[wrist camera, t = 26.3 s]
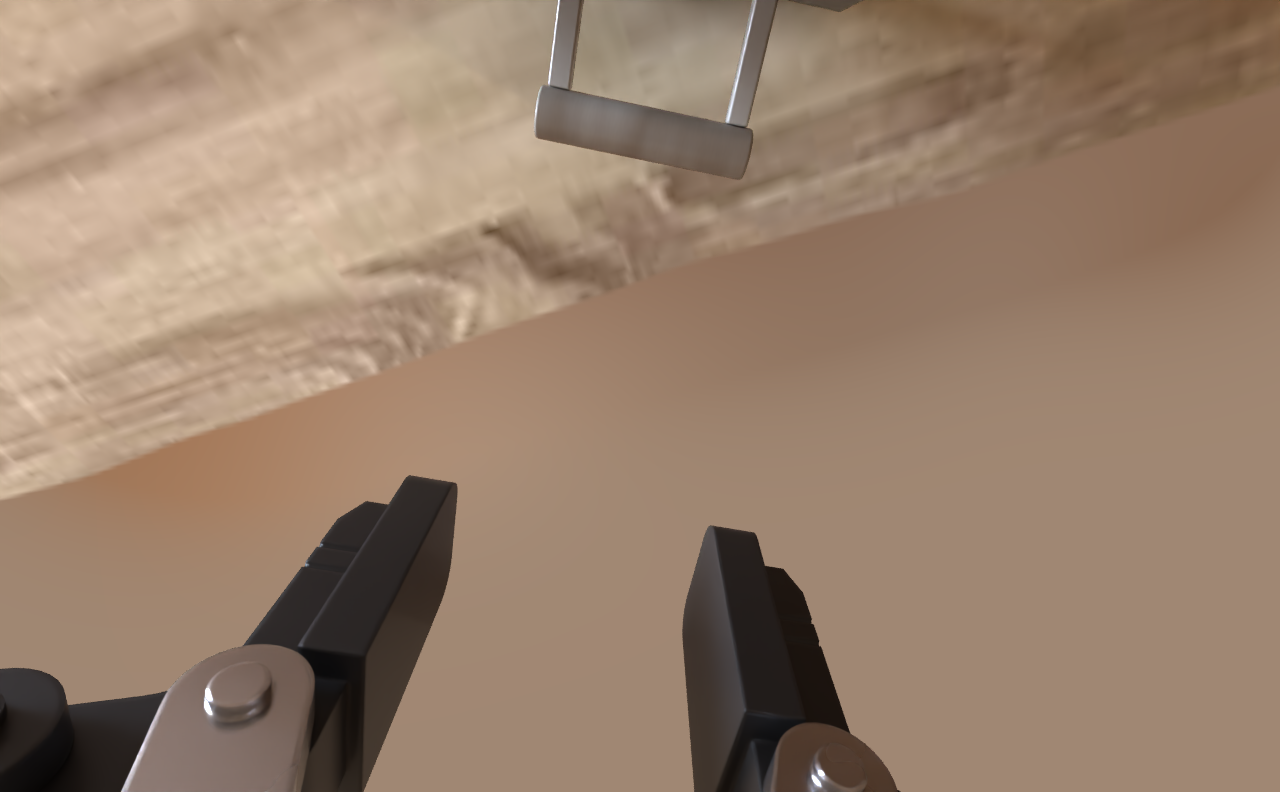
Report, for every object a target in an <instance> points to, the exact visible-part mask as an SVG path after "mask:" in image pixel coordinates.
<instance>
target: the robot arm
mask: <svg viewBox="0 0 1280 792" xmlns="http://www.w3.org/2000/svg"><path fill="white" fill-rule="evenodd" d="M456 503H457V484H456V483H453V482H447V481H441V480H434V479H429V478H422V477H417V476H411V475H409V476H408V477H406V479H405V480H404V481H403V483H402V485H401V486H400V488H399V489H398V491H397V492H396V494H395V495H394V497H393V499H392V500H391V502H390V504H389V505H387V504H380V503H374V502H368V501H367V502H364V503H363V504H361V505H359V506H358V507H357V508H355V509H353V510H351V511H350V512H348V513H346V514H345V515H343V516H342V517H340V518H338V519H337V521H336V522H335V523H334V525H333V526H332V527H331V529H330V530H329V531H328V533H327V534H326V535H325V537H324V538H323V539H322V541H321V543H320V546H319V547H317V548H316V549H315V550H314V552H313V553H312V554H311V555H310V557H309V558H308V560H307V561H306V564H305V567H301V569H300V570H299V572H298V573H297V574H296V576H295V577H294V578H293V580H292V581H291V582H290V584H289V585H288V586H287V588H286V589H285V590H284V592H283V593H282V594H281V596H280V597H279V598H278V600H277V601H276V603H275V604H274V605H273V606H272V608H271V609H270V610H269V612H268V613H267V615H266V616H265V617H264V618H263V620H262V621H261V622H260V624H259V625H258V626H257V628H256V629H255V630H254V632H253V633H252V634H251V636H250V637H249V639H248V640H247V641H246V643H245V644H244V645H243V646H241V647H237V648H232V649H230V650H226V651H223V652H220V653H218V654H215V655H213V656H211V657H209V658H207V659H205V660H203V661H201V662H200V663H198V664H196V665H195V666H193V667H192V668H191V669H189V670H188V671H186V672H185V673H184V674H183V675H182V676H181V677H180V678H179V679H178V680H177V681H175V683H174V684H173V685H172V686H171V687H170V689H169V690H168V691H165V692H161V693H157V694H152V695H145V696H139V697H130V698H122V699H114V700H106V701H98V702H91V703H82V704H75V705H68V704H67V700H66V695H65V692H64V689H63V686H62V685H61V684H60V682H59V681H58V680H57V679H56V678H54V677H53V676H51V675H50V674H47V673H44V672H42V671H38V670H33V669H25V668H8V669H0V792H363V791H364V789H365V787H366V784H367V781H368V779H369V777H370V774H371V772H372V769H373V767H374V765H375V762H376V760H377V757H378V755H379V752H380V750H381V747H382V745H383V742H384V740H385V738H386V735H387V733H388V731H389V728H390V726H391V723H392V721H393V718H394V716H395V713H396V711H397V708H398V706H399V704H400V701H401V699H402V696H403V694H404V691H405V689H406V686H407V684H408V682H409V679H410V677H411V674H412V672H413V669H414V667H415V665H416V662H417V660H418V657H419V655H420V652H421V650H422V647H423V645H424V642H425V640H426V638H427V635H428V633H429V630H430V628H431V626H432V623H433V621H434V618H435V616H436V613H437V611H438V608H439V606H440V604H441V601H442V598H443V595H444V592H445V589H446V585H447V581H448V577H449V571H450V565H451V558H452V547H453V537H454V525H455V514H456ZM811 620H812V618H811V615H810V612H809V609H808V606H807V604H806V601H805V597H804V595H803V592H802V591H801V590H800V589H799V587H798V586H797V585H796V584H795V583H794V581H793V580H792V579H791V578H790V577H789V576H788V574H787V573H786V572H785V570H784V569H781V568H775V567H769V566H765V565H764V561H763V557H762V554H761V550H760V546H759V542H758V539H757V536H756V534H755V533H753V532H747V531H741V530H735V529H729V528H723V527H716V526H709V527H708V528H707V531H706V533H705V536H704V539H703V542H702V546H701V550H700V553H699V557H698V560H697V564H696V567H695V571H694V575H693V578H692V581H691V585H690V588H689V592H688V595H687V599H686V604H685V609H684V617H683V649H684V663H685V675H686V688H687V701H688V714H689V727H690V740H691V753H692V765H693V779H694V792H900V791H899V790H897V788H896V785H895V782H894V780H893V778H892V776H891V774H890V772H889V771H888V769H887V767H886V766H885V765H884V764H883V762H882V760H881V759H880V758H879V757H878V756H877V755H876V754H875V752H874V751H872V750H871V749H870V748H869V747H868V746H867V745H866V744H865V743H863V742H862V741H860V740H859V739H858V738H856V737H855V736H853V735H852V734H850V731H849V728H848V726H847V723H846V720H845V717H844V714H843V711H842V708H841V705H840V702H839V699H838V696H837V693H836V690H835V687H834V684H833V681H832V678H831V675H830V672H829V669H828V666H827V663H826V660H825V657H824V654H823V651H822V648H821V646H819V639H818V636H817V633H816V630H815V627H814V625H813V624H811Z"/></svg>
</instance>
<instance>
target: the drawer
mask: <svg viewBox="0 0 1280 792" xmlns="http://www.w3.org/2000/svg"><path fill="white" fill-rule="evenodd" d="M789 1H794V2H798V3H802V4H807V5H811V6H815V7H820V8H824V9H828V10H833V11H837V12H841V11H843V10H845V9H847V8H849V7H851V6H853V5H855V4H857V3H859V2H861V1H863V0H789ZM583 2H584V0H558V7H557V15H556V23H555V31H554V39H553V47H552V56H551V64H550V72H549V80H548V84H549V85H550V86H548V85H542V86H541V88H540V90H539V93H538V97H537V102H536V109H535V119H534V132H535V136H536V137H537V138H538V139H543V140H548V141H553V142H557V143H562V144H567V145H572V146H577V147H582V148H587V149H591V150H596V151H601V152H606V153H611V154H616V155H620V156H625V157H630V158H635V159H640V160H645V161H649V162H654V163H659V164H664V165H669V166H674V167H678V168H683V169H688V170H693V171H698V172H703V173H708V174H712V175H717V176H722V177H727V178H732V179H737V180H739V179H741V178H742V177H743V175H744V173H745V171H746V168H747V165H748V162H749V158H750V154H751V149H752V143H753V131H752V130H751V129H750V128H745V127H747V126H748V123H749V119H750V115H751V110H752V106H753V102H754V98H755V94H756V90H757V86H758V81H759V77H760V73H761V69H762V65H763V61H764V57H765V52H766V48H767V44H768V40H769V36H770V32H771V28H772V23H773V19H774V15H775V11H776V7H777V3H778V0H752V4H751V9H750V13H749V18H748V22H747V26H746V31H745V35H744V39H743V44H742V48H741V53H740V57H739V61H738V66H737V70H736V75H735V79H734V83H733V88H732V92H731V97H730V101H729V105H728V110H727V114H726V119H725V123H722V122H717V121H712V120H708V119H703V118H698V117H694V116H689V115H684V114H680V113H675V112H670V111H665V110H661V109H656V108H651V107H647V106H642V105H637V104H633V103H628V102H623V101H619V100H614V99H609V98H604V97H600V96H595V95H590V94H586V93H581V92H576V91H572V90H571V88H572V82H573V75H574V68H575V61H576V53H577V46H578V39H579V31H580V24H581V17H582V9H583ZM726 123H727V124H726Z"/></svg>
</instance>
